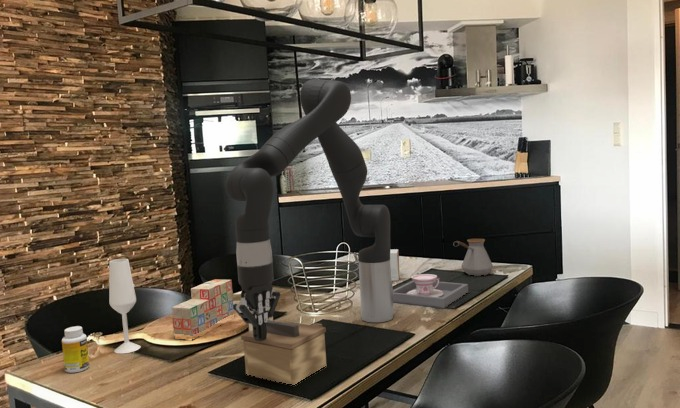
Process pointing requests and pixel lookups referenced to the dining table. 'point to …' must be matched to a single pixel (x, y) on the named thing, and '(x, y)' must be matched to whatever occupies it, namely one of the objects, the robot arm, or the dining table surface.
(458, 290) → the coaster tray
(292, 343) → the lid
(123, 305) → the champagne flute
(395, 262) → the small box
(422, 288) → the teacup
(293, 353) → the open wooden box
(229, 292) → the stack of blocks
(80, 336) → the supplement bottle
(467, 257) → the coffee pot
